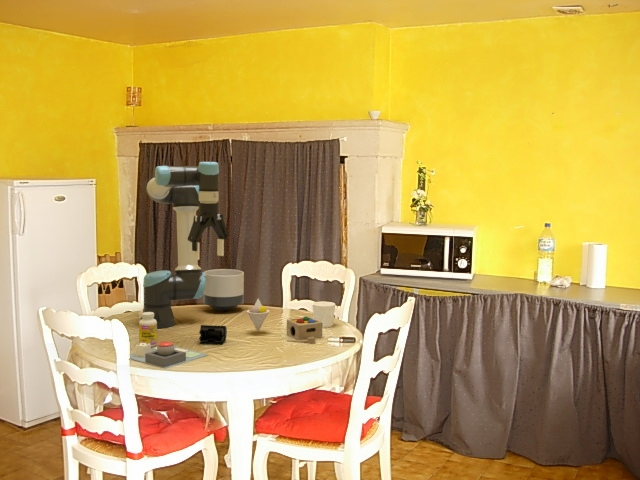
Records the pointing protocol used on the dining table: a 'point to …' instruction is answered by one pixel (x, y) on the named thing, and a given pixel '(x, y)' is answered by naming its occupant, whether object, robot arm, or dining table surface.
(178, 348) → the board
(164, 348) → the pop button
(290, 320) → the pounding toy
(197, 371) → the dining table surface
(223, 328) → the end cap
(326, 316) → the cup
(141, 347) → the die
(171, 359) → the button housing
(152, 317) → the supplement bottle
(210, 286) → the planter
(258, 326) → the toy
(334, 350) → the dining table surface
